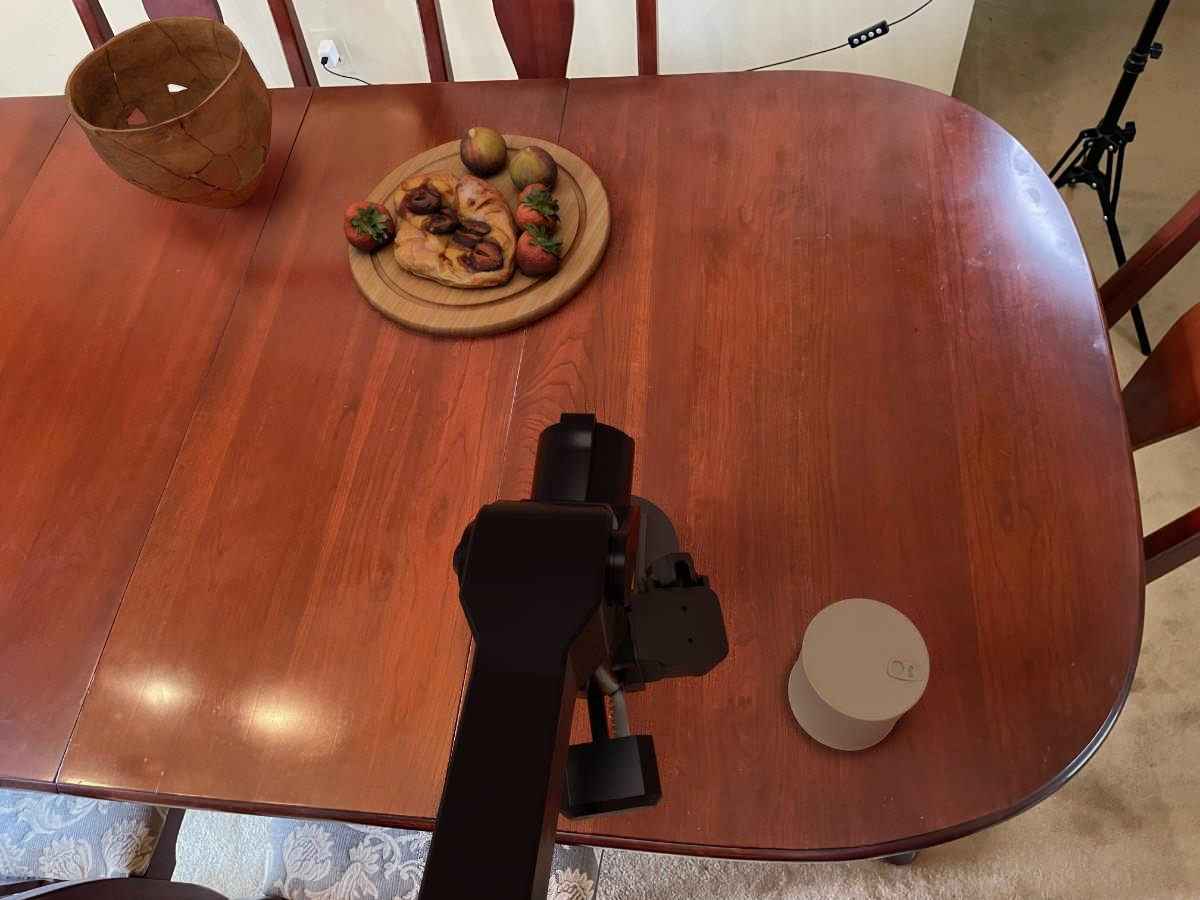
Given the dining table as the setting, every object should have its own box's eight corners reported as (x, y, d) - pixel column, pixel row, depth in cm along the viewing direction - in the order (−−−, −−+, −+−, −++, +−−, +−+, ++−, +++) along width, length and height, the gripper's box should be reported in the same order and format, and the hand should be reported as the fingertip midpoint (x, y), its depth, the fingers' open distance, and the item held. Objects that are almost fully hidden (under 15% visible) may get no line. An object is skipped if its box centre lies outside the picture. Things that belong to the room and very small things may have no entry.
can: (886, 767, 69) (918, 739, 59) (775, 728, 71) (787, 694, 61) (909, 661, 73) (943, 617, 63) (803, 627, 75) (818, 579, 65)
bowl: (207, 138, 118) (122, 2, 101) (337, 154, 113) (271, 14, 96) (130, 249, 109) (21, 121, 91) (268, 271, 104) (181, 140, 87)
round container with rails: (680, 645, 76) (677, 611, 68) (561, 641, 77) (544, 607, 69) (682, 534, 81) (680, 490, 73) (571, 532, 82) (556, 488, 74)
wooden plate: (318, 334, 98) (288, 287, 91) (393, 143, 113) (372, 90, 106) (589, 352, 93) (579, 304, 86) (629, 148, 108) (624, 93, 101)
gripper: (754, 775, 43) (742, 806, 57) (686, 455, 52) (690, 548, 66) (538, 810, 43) (578, 832, 57) (508, 486, 52) (549, 572, 66)
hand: (604, 686), depth 61 cm, fingers open, 9 cm apart
